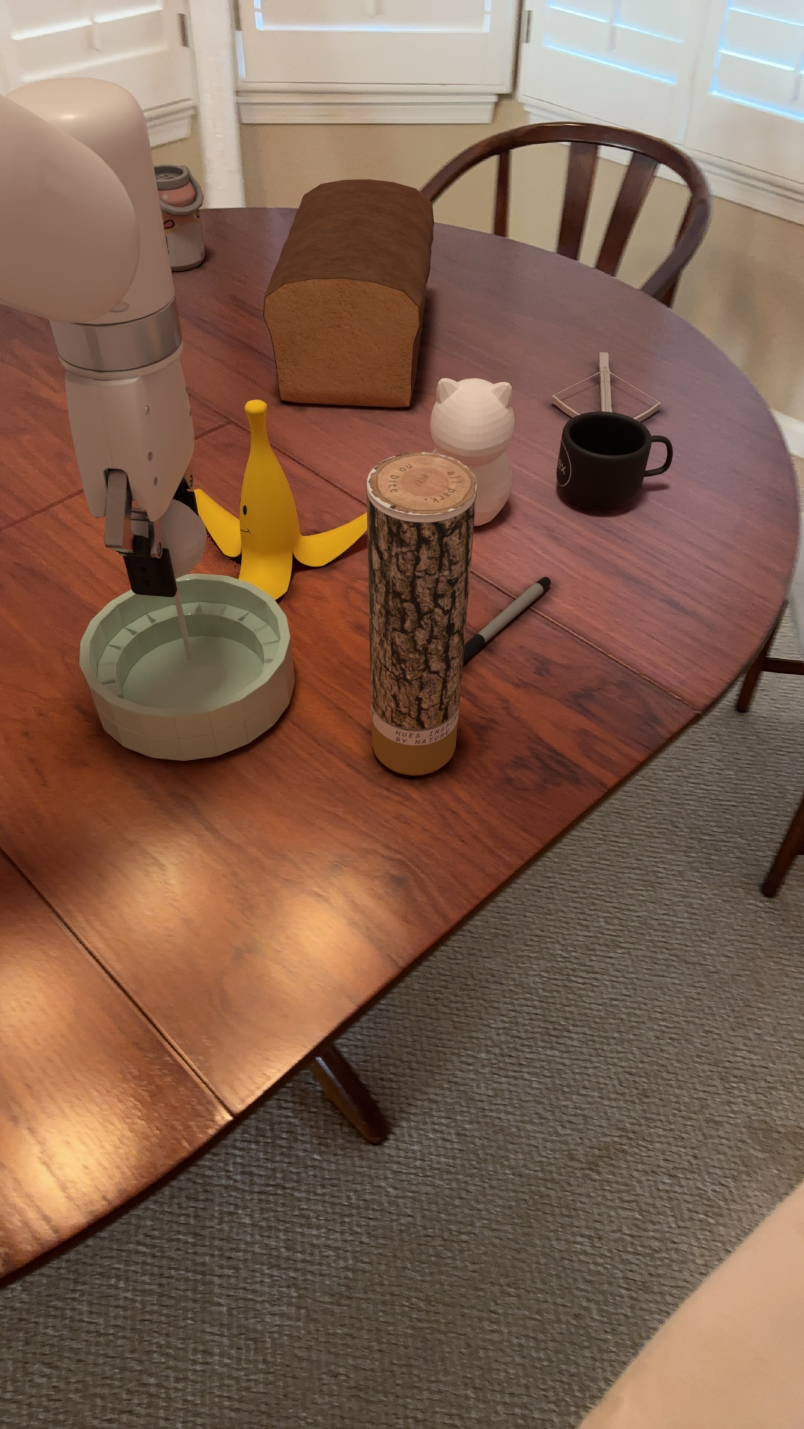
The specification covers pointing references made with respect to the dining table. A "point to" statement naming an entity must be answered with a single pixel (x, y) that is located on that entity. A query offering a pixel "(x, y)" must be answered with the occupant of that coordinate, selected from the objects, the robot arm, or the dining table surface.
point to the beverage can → (181, 215)
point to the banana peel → (270, 519)
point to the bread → (351, 295)
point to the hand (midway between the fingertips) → (168, 561)
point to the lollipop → (179, 548)
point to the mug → (605, 459)
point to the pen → (505, 617)
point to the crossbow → (604, 391)
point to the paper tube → (418, 605)
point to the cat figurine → (477, 437)
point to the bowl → (189, 668)
